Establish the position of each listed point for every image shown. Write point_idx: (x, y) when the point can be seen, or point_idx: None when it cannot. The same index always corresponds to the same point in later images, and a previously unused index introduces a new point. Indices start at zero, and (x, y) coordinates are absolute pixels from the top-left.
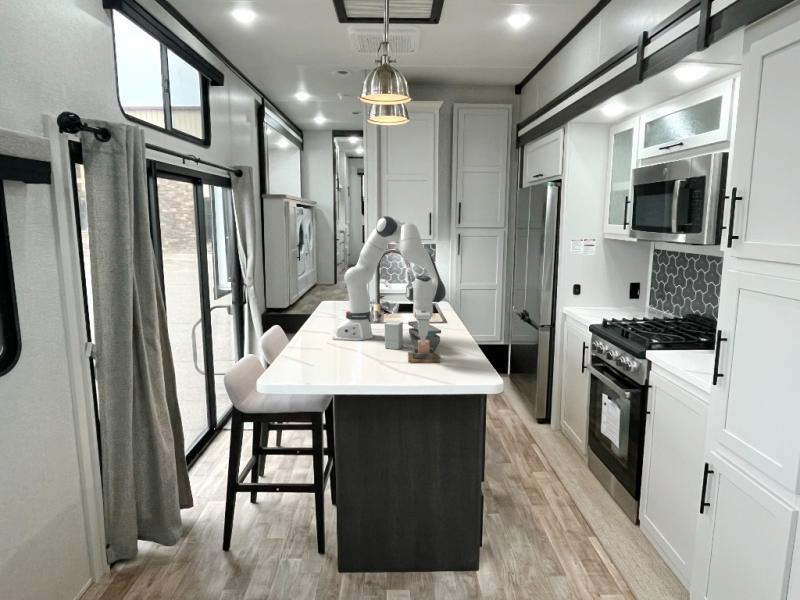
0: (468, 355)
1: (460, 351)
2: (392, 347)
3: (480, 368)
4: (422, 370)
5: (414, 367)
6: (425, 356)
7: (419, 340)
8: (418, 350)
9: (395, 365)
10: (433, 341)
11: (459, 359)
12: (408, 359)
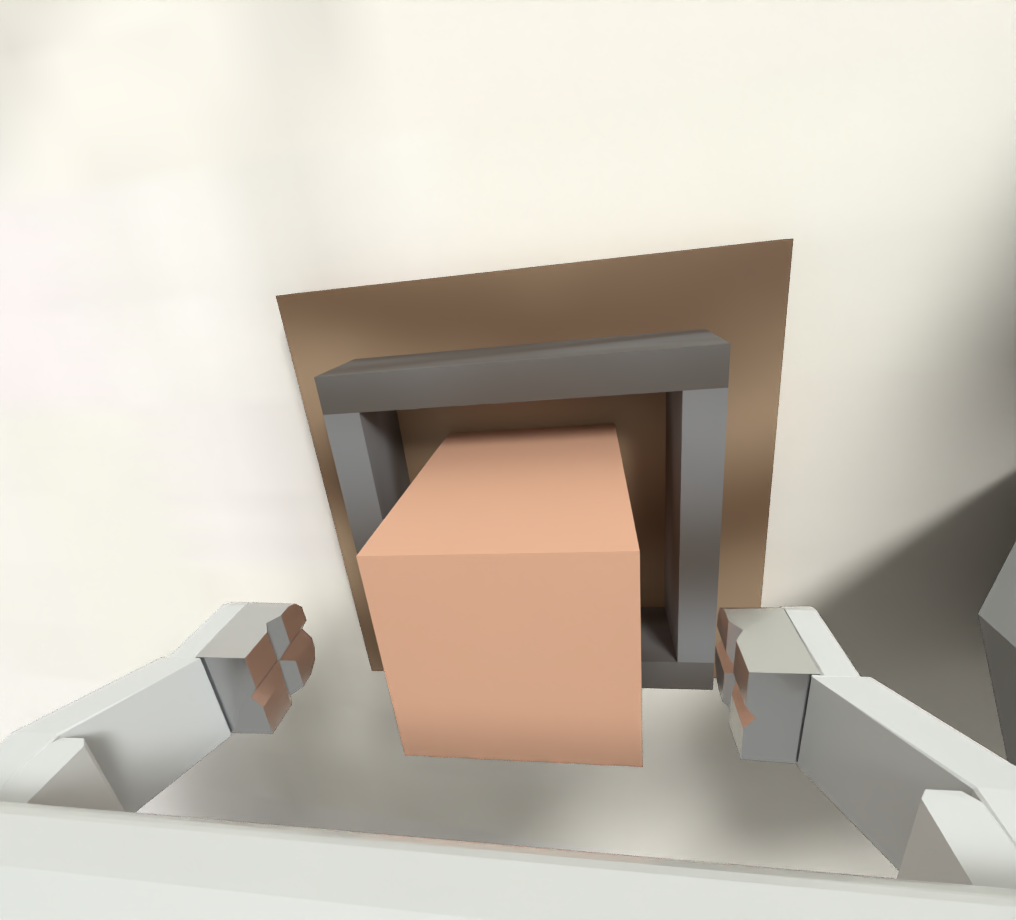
0: None
1: (880, 865)
2: None
3: None
4: (67, 479)
5: (134, 389)
6: None
7: (567, 585)
8: (416, 479)
9: (120, 101)
10: (1008, 754)
11: (541, 811)
12: (315, 293)
